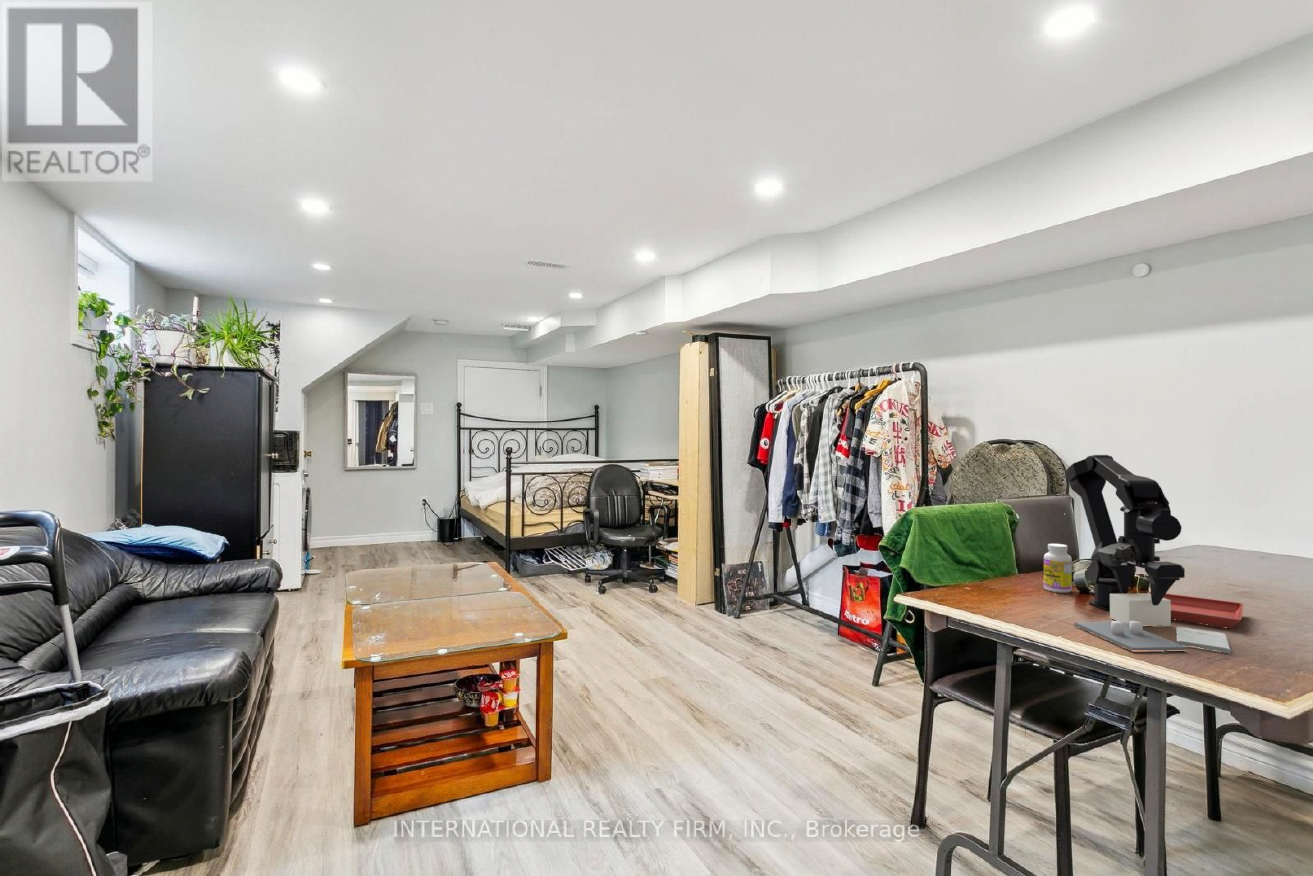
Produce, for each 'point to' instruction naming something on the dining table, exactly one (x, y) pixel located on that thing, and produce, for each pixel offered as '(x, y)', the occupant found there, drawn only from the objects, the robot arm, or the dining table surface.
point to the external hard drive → (1202, 639)
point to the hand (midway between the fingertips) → (1139, 599)
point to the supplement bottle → (1058, 569)
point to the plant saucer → (1205, 610)
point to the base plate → (1129, 635)
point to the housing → (1140, 609)
